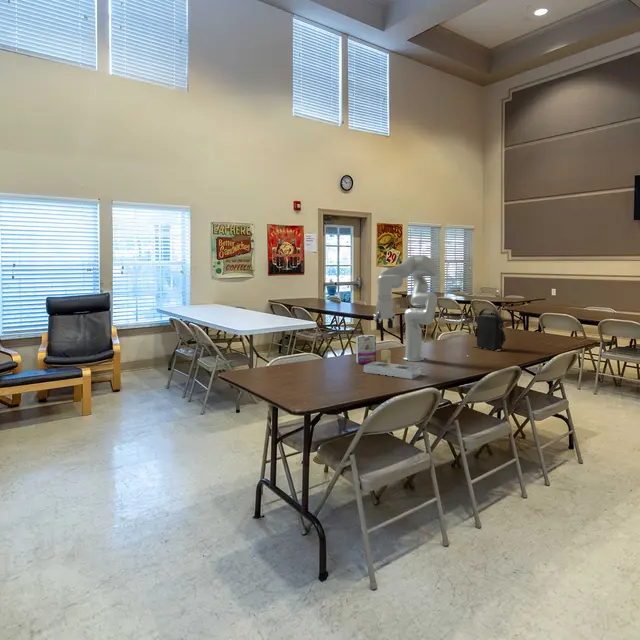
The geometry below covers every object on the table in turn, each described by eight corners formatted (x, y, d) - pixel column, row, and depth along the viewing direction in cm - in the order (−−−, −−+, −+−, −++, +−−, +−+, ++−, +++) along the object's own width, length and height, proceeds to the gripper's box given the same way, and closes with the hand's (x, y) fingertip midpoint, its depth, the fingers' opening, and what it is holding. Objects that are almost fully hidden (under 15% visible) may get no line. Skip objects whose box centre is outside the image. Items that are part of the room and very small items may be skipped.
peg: (384, 366, 270) (384, 349, 269) (390, 367, 268) (390, 350, 266) (380, 368, 267) (381, 350, 265) (387, 368, 264) (387, 351, 263)
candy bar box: (373, 361, 284) (373, 334, 282) (376, 363, 280) (376, 335, 278) (355, 362, 282) (355, 335, 280) (357, 364, 277) (358, 336, 275)
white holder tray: (373, 368, 266) (373, 361, 265) (420, 374, 250) (421, 367, 250) (363, 372, 256) (363, 365, 255) (411, 379, 240) (412, 371, 240)
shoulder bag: (470, 347, 330) (471, 307, 327) (478, 345, 336) (480, 306, 332) (498, 352, 312) (500, 309, 309) (506, 350, 317) (508, 309, 314)
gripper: (389, 296, 267) (389, 326, 269) (369, 298, 255) (369, 330, 257) (400, 297, 261) (399, 328, 263) (379, 299, 250) (379, 331, 252)
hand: (384, 329), depth 260 cm, fingers open, 9 cm apart
